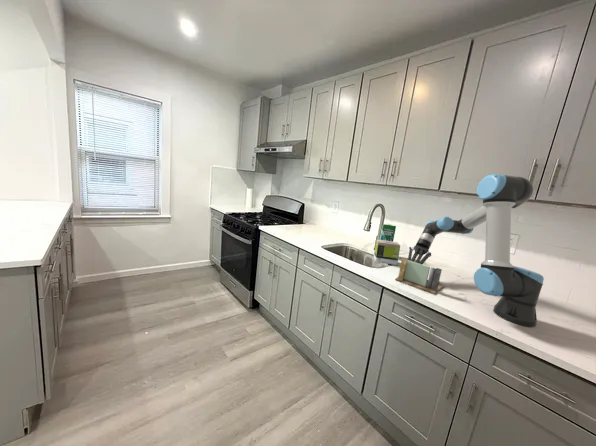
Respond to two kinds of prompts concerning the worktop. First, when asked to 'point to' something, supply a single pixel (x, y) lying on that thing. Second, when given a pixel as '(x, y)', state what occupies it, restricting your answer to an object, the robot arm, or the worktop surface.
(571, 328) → the worktop surface
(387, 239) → the milk carton
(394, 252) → the tea box
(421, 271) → the gate
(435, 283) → the wooden stand
